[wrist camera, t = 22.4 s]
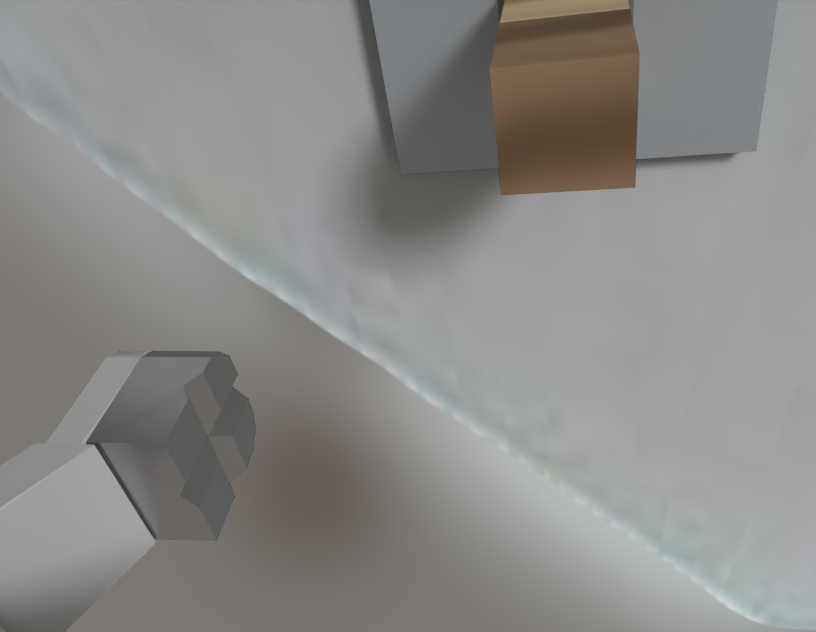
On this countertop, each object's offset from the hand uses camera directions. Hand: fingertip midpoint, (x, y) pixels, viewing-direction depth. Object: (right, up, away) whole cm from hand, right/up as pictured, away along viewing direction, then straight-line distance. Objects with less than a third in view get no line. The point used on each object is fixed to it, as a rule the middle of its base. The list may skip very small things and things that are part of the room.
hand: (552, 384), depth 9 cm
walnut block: (+5, +11, +22) cm, 24 cm away
